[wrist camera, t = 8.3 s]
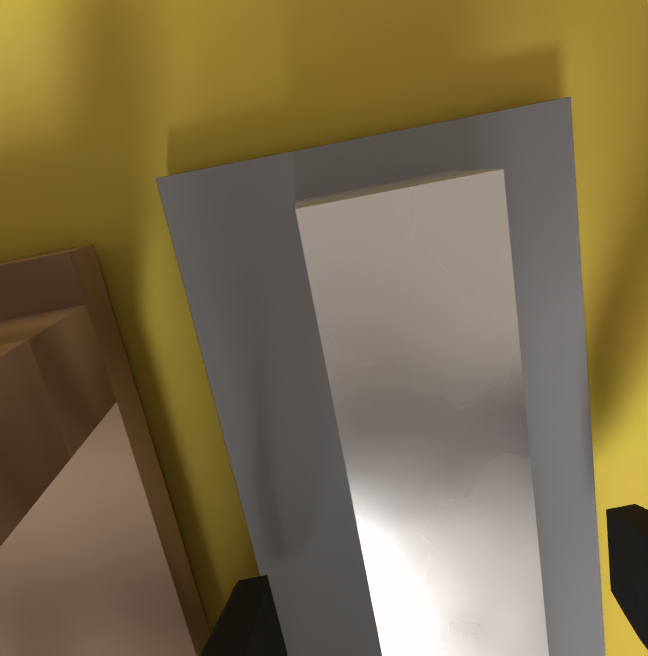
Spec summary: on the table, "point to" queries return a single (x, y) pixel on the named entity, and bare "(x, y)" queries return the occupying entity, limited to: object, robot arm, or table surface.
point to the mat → (312, 379)
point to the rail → (431, 408)
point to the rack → (81, 480)
